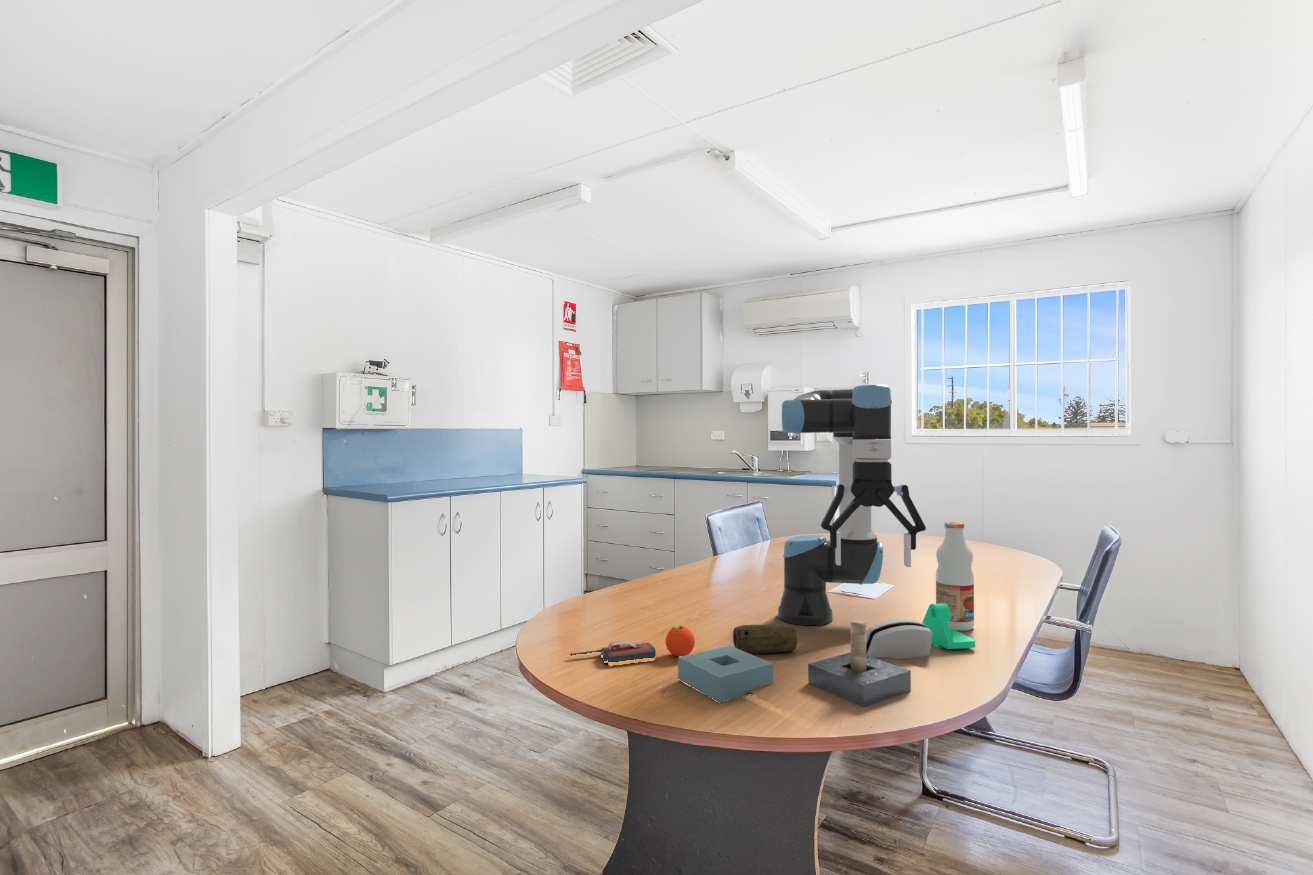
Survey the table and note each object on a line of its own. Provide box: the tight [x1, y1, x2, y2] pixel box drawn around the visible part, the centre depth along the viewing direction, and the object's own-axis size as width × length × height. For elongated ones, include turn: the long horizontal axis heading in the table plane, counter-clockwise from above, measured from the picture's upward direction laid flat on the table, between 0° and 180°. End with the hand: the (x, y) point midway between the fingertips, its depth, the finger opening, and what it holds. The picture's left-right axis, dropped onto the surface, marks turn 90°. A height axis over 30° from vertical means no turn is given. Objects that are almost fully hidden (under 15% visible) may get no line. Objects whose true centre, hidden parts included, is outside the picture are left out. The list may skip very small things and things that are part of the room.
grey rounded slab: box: [866, 619, 932, 660], centre depth 151 cm, size 17×5×10 cm, turn 105°
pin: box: [850, 619, 867, 673], centre depth 130 cm, size 3×3×13 cm
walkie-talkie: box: [569, 640, 657, 662], centre depth 150 cm, size 9×4×20 cm
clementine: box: [662, 625, 696, 657], centre depth 152 cm, size 8×7×7 cm
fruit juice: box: [935, 521, 975, 632], centre depth 175 cm, size 9×9×28 cm
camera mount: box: [921, 603, 976, 650], centre depth 160 cm, size 12×8×10 cm, turn 9°
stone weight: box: [732, 624, 798, 654], centre depth 155 cm, size 15×7×7 cm, turn 101°
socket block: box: [677, 645, 774, 703], centre depth 134 cm, size 14×14×5 cm
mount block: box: [807, 651, 912, 708], centre depth 130 cm, size 14×14×5 cm
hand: (872, 565), depth 131 cm, fingers open, 13 cm apart
